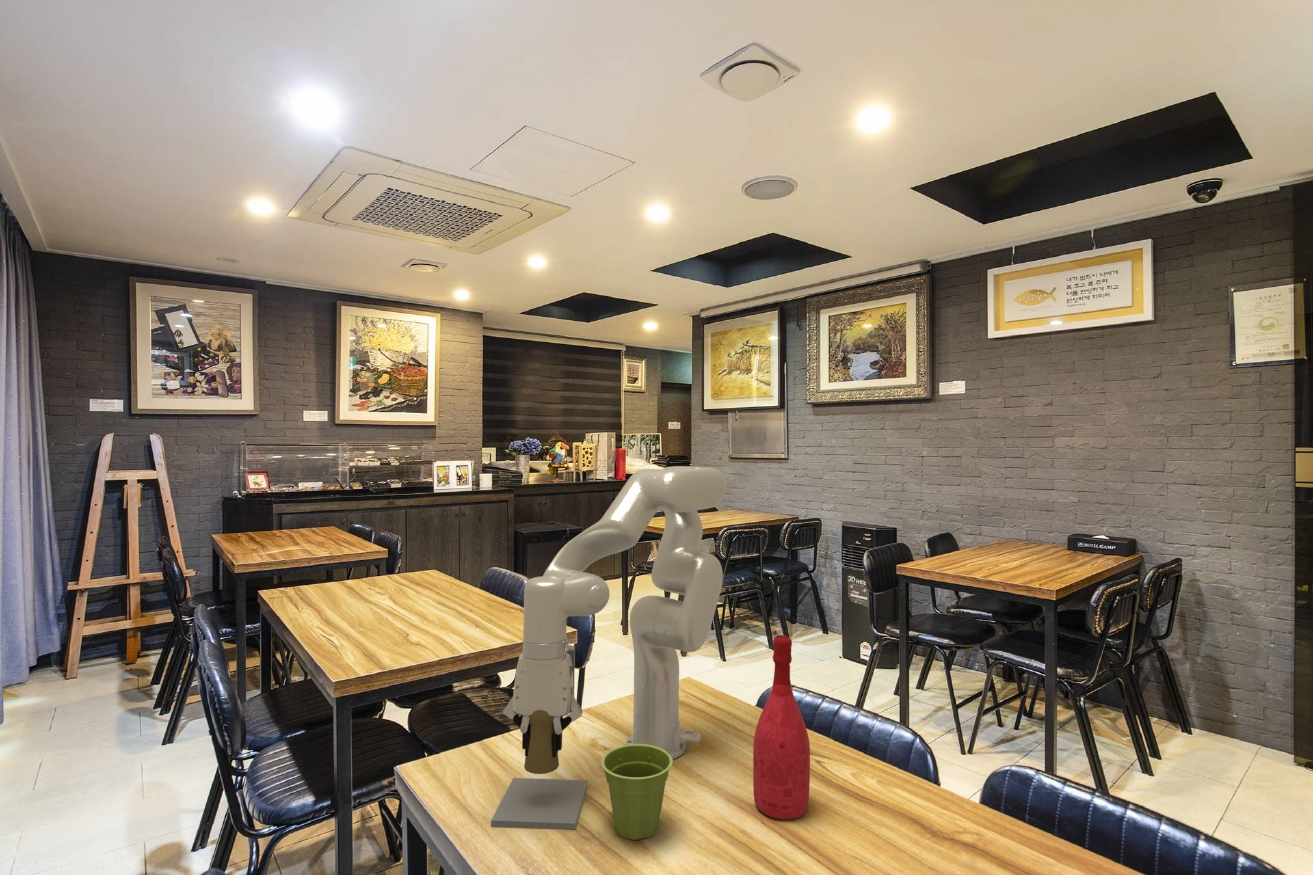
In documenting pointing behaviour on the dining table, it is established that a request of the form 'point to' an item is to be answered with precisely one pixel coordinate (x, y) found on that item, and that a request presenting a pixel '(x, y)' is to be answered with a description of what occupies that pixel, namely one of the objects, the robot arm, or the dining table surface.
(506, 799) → the tile
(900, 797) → the dining table surface
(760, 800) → the wine bottle
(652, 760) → the plant pot
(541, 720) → the brown pawn
